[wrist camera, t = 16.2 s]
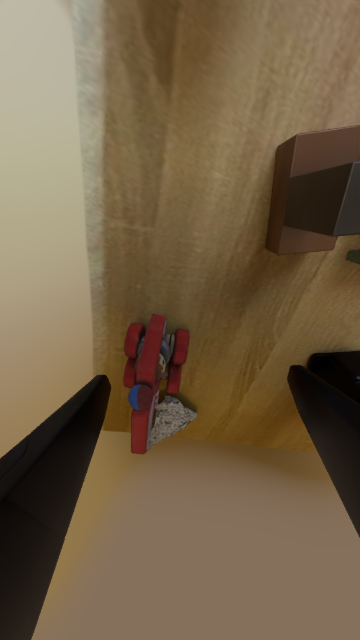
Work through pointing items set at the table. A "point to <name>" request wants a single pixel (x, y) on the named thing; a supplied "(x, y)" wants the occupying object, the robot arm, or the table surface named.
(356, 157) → the walnut pusher
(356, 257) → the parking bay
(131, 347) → the toy fire truck
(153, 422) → the rock sample
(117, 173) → the table surface
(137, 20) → the table surface
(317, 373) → the robot arm
